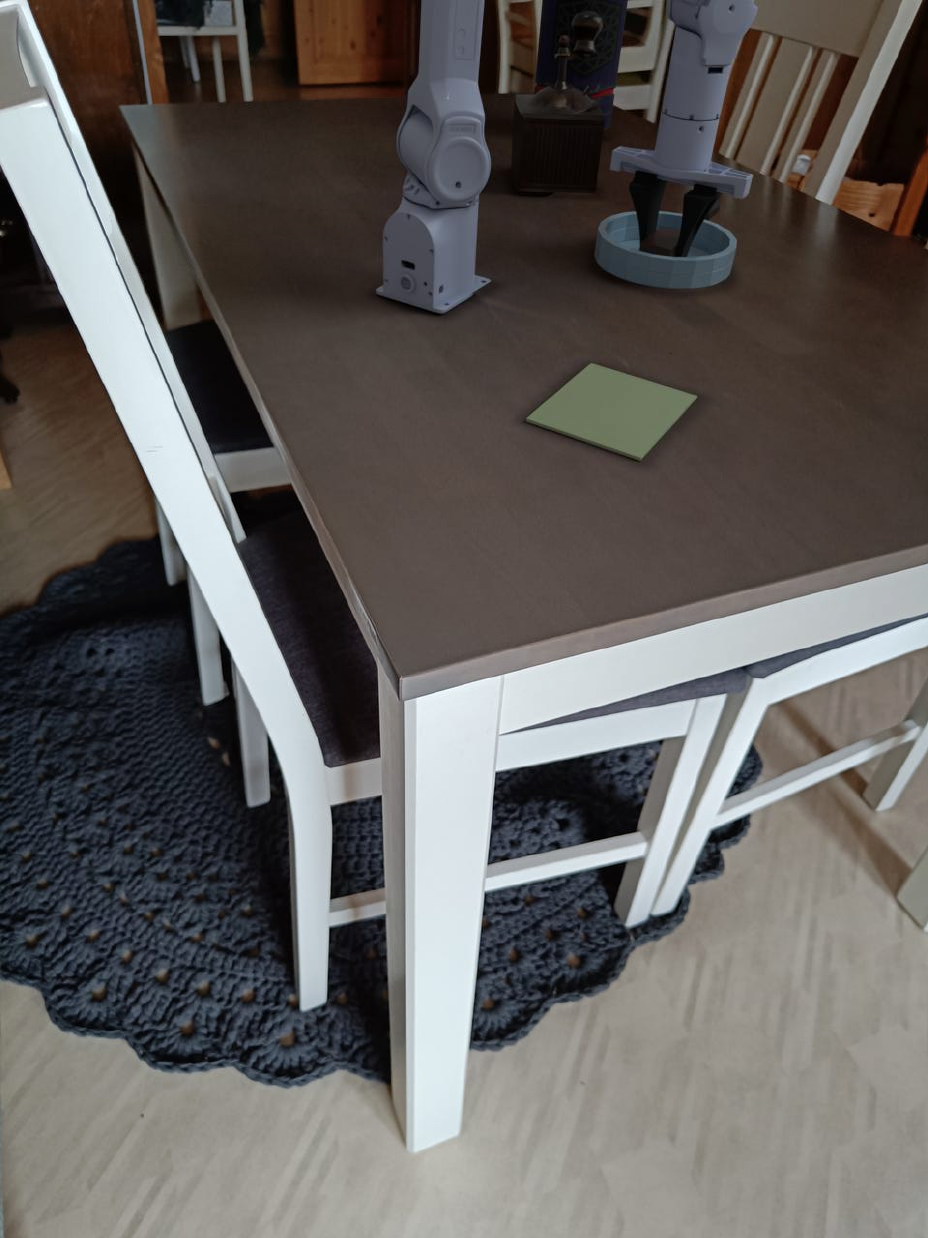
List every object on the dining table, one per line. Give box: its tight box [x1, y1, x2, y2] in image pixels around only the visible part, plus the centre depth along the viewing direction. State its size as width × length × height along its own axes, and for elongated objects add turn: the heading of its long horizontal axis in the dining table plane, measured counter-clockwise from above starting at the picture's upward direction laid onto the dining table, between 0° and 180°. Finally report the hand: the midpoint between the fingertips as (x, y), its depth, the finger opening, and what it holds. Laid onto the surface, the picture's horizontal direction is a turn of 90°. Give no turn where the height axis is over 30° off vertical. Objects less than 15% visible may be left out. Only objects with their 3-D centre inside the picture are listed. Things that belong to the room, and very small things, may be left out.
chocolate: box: [639, 227, 680, 257], centre depth 97 cm, size 6×4×2 cm, turn 148°
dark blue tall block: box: [533, 0, 629, 132], centre depth 128 cm, size 14×12×30 cm
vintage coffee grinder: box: [509, 11, 605, 197], centre depth 114 cm, size 16×11×18 cm
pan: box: [593, 210, 738, 290], centre depth 97 cm, size 15×15×4 cm
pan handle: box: [705, 201, 721, 221], centre depth 104 cm, size 8×2×2 cm, turn 148°
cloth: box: [525, 362, 698, 462], centre depth 74 cm, size 12×10×1 cm
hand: (663, 253), depth 98 cm, fingers closed on chocolate, 3 cm apart
